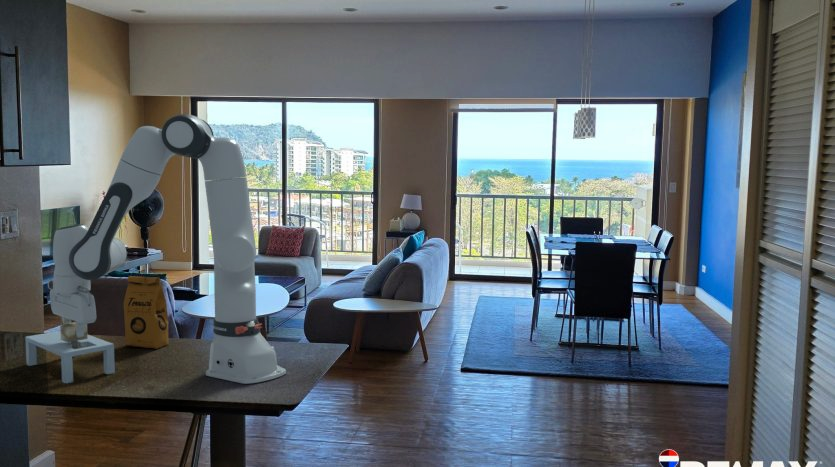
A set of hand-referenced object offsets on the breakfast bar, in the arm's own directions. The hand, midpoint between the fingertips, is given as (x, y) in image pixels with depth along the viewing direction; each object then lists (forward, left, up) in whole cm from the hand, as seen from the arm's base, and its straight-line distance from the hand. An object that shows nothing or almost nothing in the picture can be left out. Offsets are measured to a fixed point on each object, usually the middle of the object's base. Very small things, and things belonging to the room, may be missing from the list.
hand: (74, 334), depth 190 cm
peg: (0, 0, -6) cm, 6 cm away
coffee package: (+12, -27, -11) cm, 32 cm away
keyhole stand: (+4, 0, -10) cm, 11 cm away
